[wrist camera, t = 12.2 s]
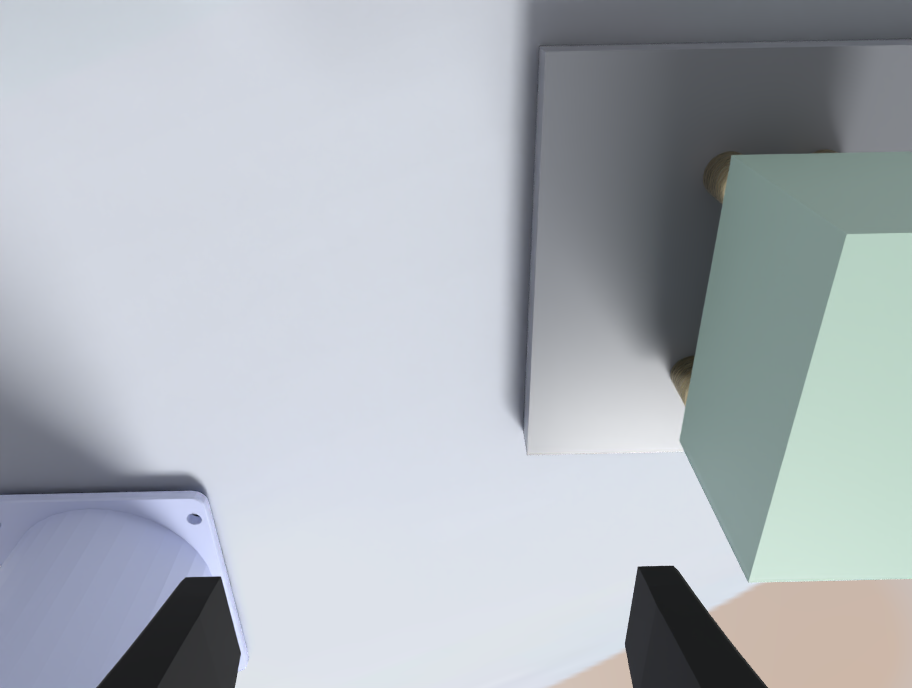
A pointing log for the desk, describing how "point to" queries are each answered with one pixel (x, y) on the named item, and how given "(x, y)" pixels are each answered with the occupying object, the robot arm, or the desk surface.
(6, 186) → the desk surface
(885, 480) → the board block
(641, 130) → the plate
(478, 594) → the desk surface
